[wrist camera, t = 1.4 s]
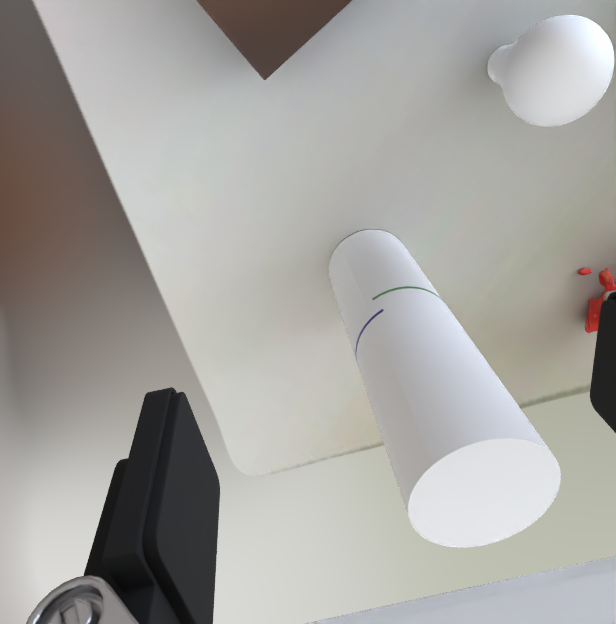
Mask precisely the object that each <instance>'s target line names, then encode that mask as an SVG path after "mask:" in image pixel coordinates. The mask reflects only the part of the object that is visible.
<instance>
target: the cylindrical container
mask: <svg viewBox="0 0 616 624" xmlns="http://www.w3.org/2000/svg"><path fill="white" fill-rule="evenodd" d="M328 273H329V279H330V282H331V285H332V288H333V292H334V295H335V298H336V301H337V304H338V307H339V310H340V313H341V316H342V319H343V322H344V325H345V328H346V331H347V334H348V337H349V340H350V343H351V346H352V348H353V351H354V354H355V357H356V360H357V363H358V366H359V369H360V372H361V375H362V379H363V382H364V385H365V388H366V391H367V394H368V397H369V400H370V403H371V406H372V409H373V412H374V415H375V418H376V421H377V424H378V427H379V430H380V433H381V436H382V439H383V442H384V445H385V448H386V451H387V454H388V456H389V459H390V463H391V465H392V468H393V471H394V474H395V478H396V481H397V484H398V486H399V489H400V492H401V496H402V498H403V502H404V504H405V507H406V510H407V513H408V516H409V519H410V521H411V524H412V526H413V527H414V529H415V530H416V531H417V532H418V533H419V534H420V535H421V536H423V537H424V538H426V539H427V540H429V541H432V542H433V543H436V544H439V545H443V546H448V547H461V548H463V547H476V546H481V545H486V544H491V543H494V542H497V541H500V540H503V539H506V538H508V537H510V536H512V535H514V534H516V533H518V532H520V531H522V530H523V529H525V528H526V527H528V526H529V525H531V524H532V523H533V522H535V521H536V520H537V519H538V518H539V517H540V516H541V515H542V514H543V513H544V512H545V511H546V510H547V509H548V508H549V506H550V505H551V503H552V502H553V500H554V499H555V497H556V495H557V492H558V490H559V487H560V481H561V472H560V466H559V464H558V462H557V460H556V459H555V457H554V455H553V454H552V452H551V451H550V450H549V448H548V447H547V445H546V444H545V443H544V441H543V440H542V438H541V437H540V436H539V434H538V433H537V431H536V430H535V429H534V427H533V426H532V424H531V423H530V422H529V420H528V419H527V417H526V416H525V415H524V413H523V412H522V410H521V409H520V408H519V406H518V405H517V403H516V402H515V401H514V399H513V398H512V396H511V395H510V394H509V392H508V391H507V389H506V388H505V387H504V385H503V384H502V382H501V381H500V380H499V378H498V377H497V375H496V374H495V373H494V371H493V370H492V368H491V367H490V366H489V364H488V363H487V361H486V360H485V359H484V357H483V356H482V354H481V353H480V352H479V350H478V349H477V347H476V346H475V345H474V343H473V342H472V340H471V339H470V338H469V336H468V335H467V333H466V332H465V331H464V329H463V328H462V326H461V325H460V324H459V322H458V321H457V319H456V318H455V317H454V315H453V314H452V312H451V311H450V310H449V308H448V307H447V305H446V304H445V303H444V301H443V300H442V298H441V297H440V296H439V294H438V293H437V291H436V290H435V289H434V287H433V286H432V284H431V283H430V282H429V280H428V279H427V277H426V276H425V275H424V273H423V272H422V270H421V269H420V268H419V266H418V265H417V263H416V262H415V261H414V259H413V258H412V256H411V255H410V253H409V252H408V251H407V249H406V248H405V246H404V245H403V244H402V243H401V241H400V240H399V239H398V238H396V237H395V236H394V235H392V234H390V233H388V232H386V231H382V230H370V229H369V230H364V231H359V232H357V233H354V234H352V235H350V236H349V237H347V238H345V239H344V240H343V241H342V242H341V243H340V244H339V245H338V246H337V248H336V249H335V250H334V252H333V254H332V256H331V259H330V262H329V269H328Z"/></svg>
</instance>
